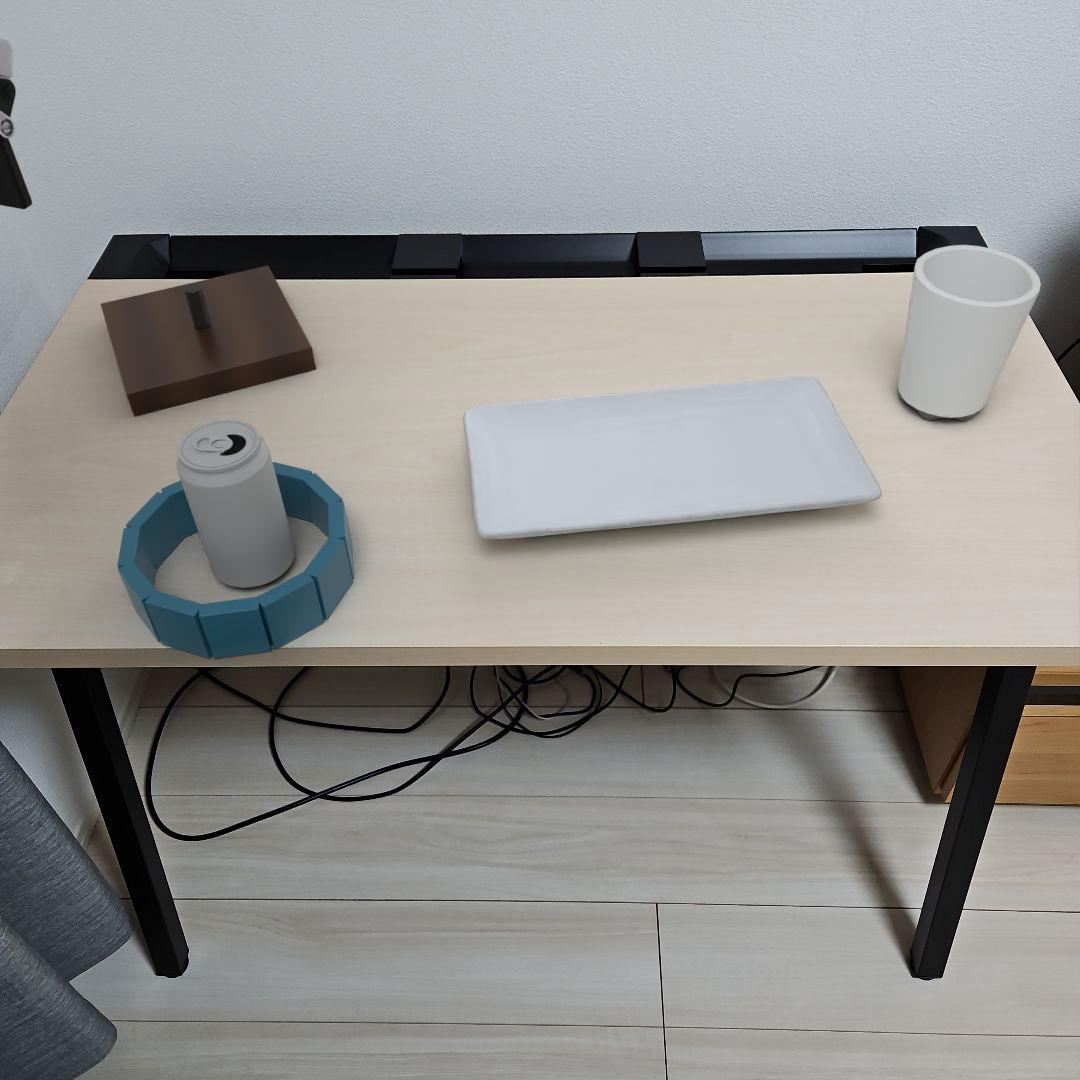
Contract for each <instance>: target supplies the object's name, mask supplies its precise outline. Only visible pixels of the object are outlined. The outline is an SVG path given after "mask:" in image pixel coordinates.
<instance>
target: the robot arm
mask: <svg viewBox="0 0 1080 1080" xmlns="http://www.w3.org/2000/svg"><path fill="white" fill-rule="evenodd" d="M13 56H14V54H13V46H12V43H11V42H10V40H8V39H6V38H2V37H0V206H3V207H8V208H14V209H19V210H26V209H27V208H29V207H31V206H32V205H33V200H32V197H31V195H30V192H29V189H28V186H27V183H26V181H25V179H24V176H23V173H22V170H21V168H20V164H19V163H18V159H17V157H16V155H15V151H14V149H13V146H12V143H11V141H10V140H9V139H12V138H13V136H14V135H15V132H16V125H15V122H14V120H13V119H12V118H11V116H12V112H13V108H14V103H15V99H16V95H17V89H16V86H15V84H14V82H13V81H12V78H13V77H14V70H13V69H14V61H13V60H14V58H13Z"/></svg>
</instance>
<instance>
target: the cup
mask: <svg viewBox="0 0 1080 1080" xmlns="http://www.w3.org/2000/svg"><path fill="white" fill-rule="evenodd" d="M1041 285H1042V283H1041V280H1040V276H1039V275H1038V273H1037V272H1036V271H1035V269H1033V267H1032V266H1030V265H1029V264H1028V263H1027V262H1026V261H1024V260H1023V259H1021V258H1019V257H1017V256H1015V255H1012V254H1010V253H1008V252H1004V251H1002V250H999V249H995V248H991V247H985V246H981V245H972V244H971V245H970V244H955V245H947V246H943V247H938V248H934V249H932V250H929V251H927V252H925V253H923V254H922V255H921V256H920V257H918V258H917V259H916V262H915V265H914V270H913V277H912V284H911V291H910V297H909V304H908V311H907V317H906V323H905V324H906V325H905V332H904V339H903V344H902V345H903V347H902V353H901V359H900V367H899V372H898V373H899V374H898V379H897V380H898V381H897V395H898V399H899V400H900V401H901V402H903V403H906V404H908V405H909V406H911V407H912V408H913V409H914V410H915V411H917V412H918V414H919V415H920V416H921V417H922V418H923V419H924V420H926V421H934V420H937V419H949V418H950V419H956V420H958V421H961V422H962V421H963V422H967V421H969V420H971V419H972V418H973V417H974V416H976V415H977V413H979V412H980V411H981V410H982V409H983V408H984V407H985V406H986V405H987V402H988V401H989V398H990V397H991V394H992V392H993V390H994V388H995V386H996V384H997V382H998V380H999V377H1000V375H1001V374H1002V371H1003V369H1004V367H1005V365H1006V363H1007V360H1008V358H1009V356H1010V355H1011V352H1012V350H1013V348H1014V346H1015V344H1016V342H1017V340H1018V338H1019V335H1020V333H1021V331H1022V329H1023V327H1024V325H1025V322H1026V321H1027V318H1028V317H1029V314H1030V312H1031V310H1032V308H1033V306H1034V304H1035V302H1036V300H1037V297H1038V296H1039V293H1040V290H1041Z"/></svg>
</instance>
